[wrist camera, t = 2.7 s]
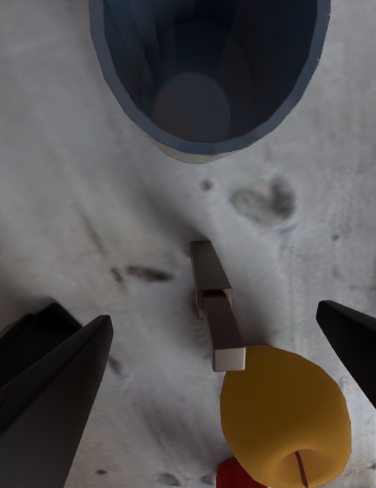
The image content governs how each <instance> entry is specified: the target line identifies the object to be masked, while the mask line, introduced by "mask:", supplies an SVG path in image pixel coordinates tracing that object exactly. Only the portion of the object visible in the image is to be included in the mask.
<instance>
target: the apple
mask: <svg viewBox="0 0 376 488" xmlns="http://www.w3.org/2000/svg"><path fill="white" fill-rule="evenodd" d="M220 414H221V425H222V431H223V435H224V437H225V439H226V441H227V443H228V445H229V447H230V449H231V451H232V453H233V455H234V456H235V458H236V459H237V460H238V462H239V463H240V464H241V466H242V467H243V468H244V469H245V470H246V471H247V473H248V474H249V475H250V476H251V477H252V478H253V479H254V480H255V481H257V482H259V483H261V484H263V485H265V486H268V487H272V488H313V487H316V486H319V485H321V484H323V483H326V482H328V481H331V480H333V479H334V478H335V477H337V476H338V475H339V474H340V473H342V472H343V470H344V468H345V466H346V464H347V462H348V459H349V457H350V455H351V422H350V417H349V413H348V409H347V404H346V399H345V397H344V395H343V393H342V392H341V390H340V388H339V386H338V384H337V383H336V382H335V381H334V380H333V379H332V378H331V377H330V376H329V375H328V374H327V373H326V372H325V371H324V370H323V369H322V368H321V367H320V366H318V365H316V364H314V363H312V362H311V361H309V360H307V359H305V358H303V357H302V356H300V355H298V354H295V353H292V352H289V351H285V350H282V349H278V348H275V347H272V346H268V345H249V346H247V347H246V358H245V369H244V370H238V371H227V372H226V374H225V377H224V380H223V385H222V390H221V395H220Z"/></svg>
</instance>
